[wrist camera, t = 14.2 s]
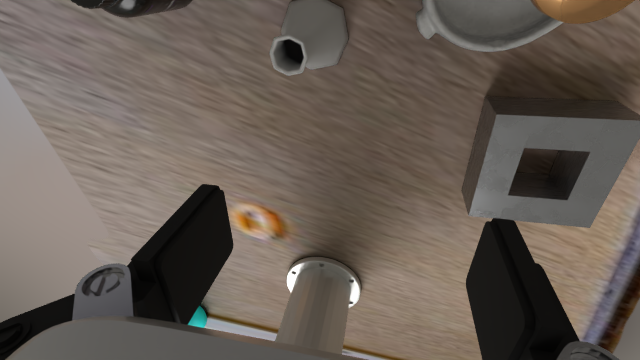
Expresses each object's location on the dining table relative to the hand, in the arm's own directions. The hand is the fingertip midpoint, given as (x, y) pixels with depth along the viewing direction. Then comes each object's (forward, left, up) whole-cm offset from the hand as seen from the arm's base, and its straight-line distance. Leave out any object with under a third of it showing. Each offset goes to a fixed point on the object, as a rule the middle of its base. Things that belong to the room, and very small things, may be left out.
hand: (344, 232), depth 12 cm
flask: (+2, +7, -28) cm, 28 cm away
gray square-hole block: (-10, -17, -27) cm, 34 cm away
